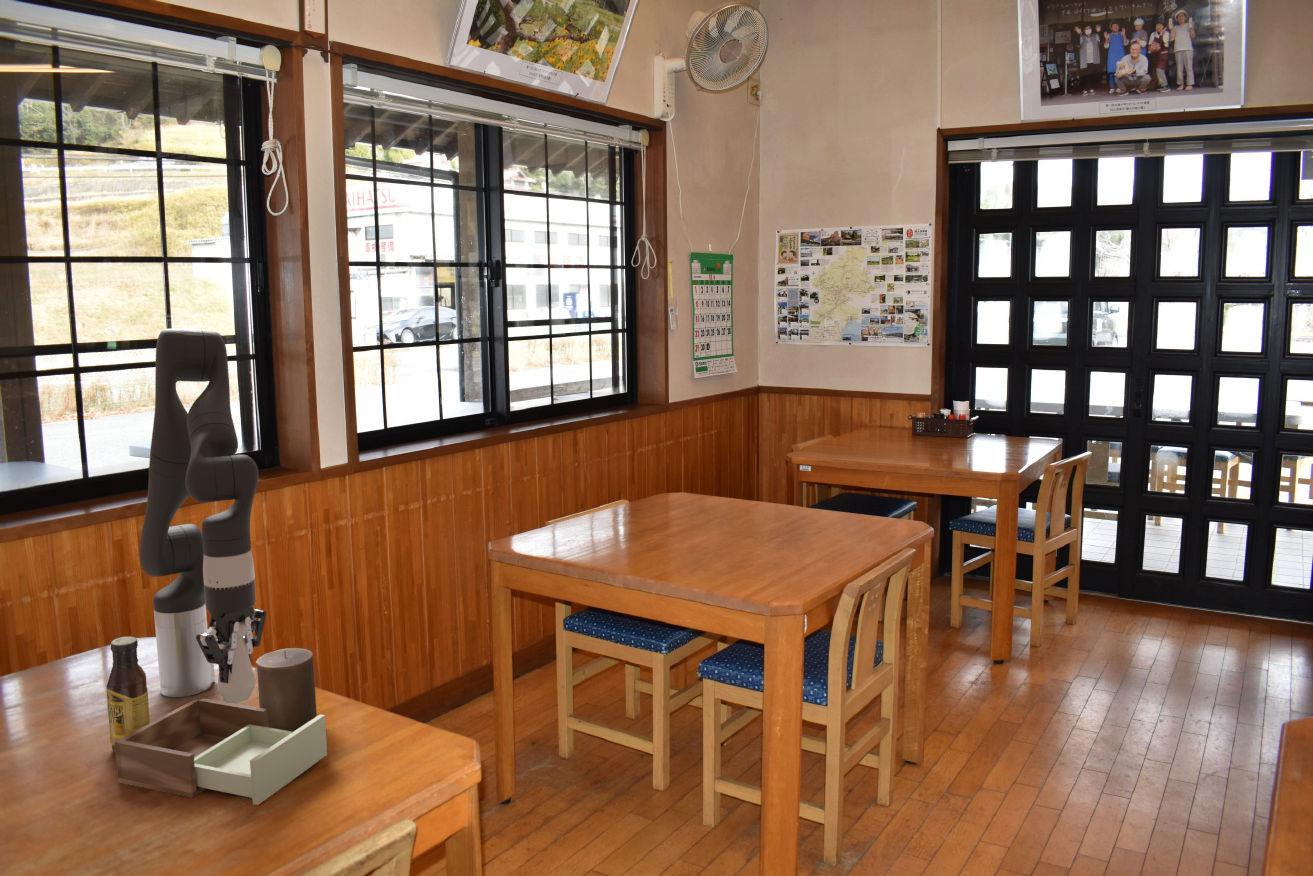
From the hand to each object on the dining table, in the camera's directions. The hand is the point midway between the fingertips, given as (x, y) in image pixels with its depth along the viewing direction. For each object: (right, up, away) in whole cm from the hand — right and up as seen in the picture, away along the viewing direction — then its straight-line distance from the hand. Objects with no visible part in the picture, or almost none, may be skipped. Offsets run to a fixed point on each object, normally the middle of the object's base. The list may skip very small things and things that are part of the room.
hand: (236, 679), depth 160 cm
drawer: (+3, -16, +2) cm, 16 cm away
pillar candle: (+2, -14, +19) cm, 23 cm away
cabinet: (-9, -16, +6) cm, 19 cm away
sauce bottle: (-23, -15, +11) cm, 30 cm away
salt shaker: (0, -3, +1) cm, 3 cm away
